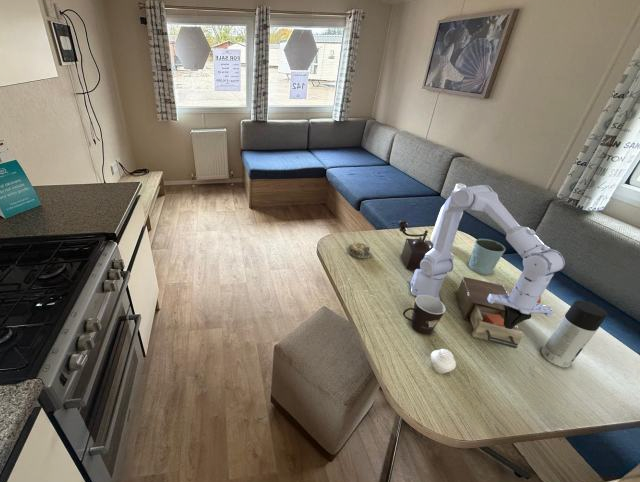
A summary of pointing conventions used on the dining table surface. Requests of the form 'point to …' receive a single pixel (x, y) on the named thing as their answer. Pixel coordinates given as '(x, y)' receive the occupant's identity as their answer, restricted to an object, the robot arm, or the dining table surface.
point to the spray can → (573, 333)
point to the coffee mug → (425, 314)
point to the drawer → (493, 328)
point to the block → (494, 319)
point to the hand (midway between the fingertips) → (507, 326)
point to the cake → (359, 250)
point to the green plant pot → (485, 256)
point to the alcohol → (441, 215)
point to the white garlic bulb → (443, 361)
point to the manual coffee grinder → (414, 248)
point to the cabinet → (478, 295)
